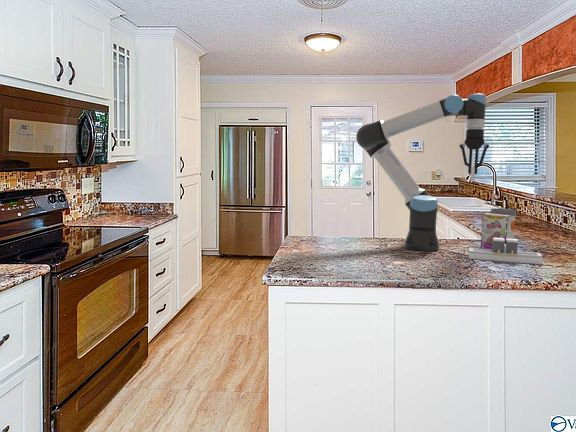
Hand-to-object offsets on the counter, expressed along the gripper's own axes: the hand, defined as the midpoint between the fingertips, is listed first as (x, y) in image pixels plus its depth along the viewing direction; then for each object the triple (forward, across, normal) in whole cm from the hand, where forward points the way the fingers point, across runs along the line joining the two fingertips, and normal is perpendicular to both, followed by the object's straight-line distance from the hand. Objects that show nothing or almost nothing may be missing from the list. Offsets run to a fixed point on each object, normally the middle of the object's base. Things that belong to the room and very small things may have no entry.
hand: (472, 181), depth 230 cm
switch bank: (+30, +14, -26) cm, 42 cm away
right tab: (+28, +16, -26) cm, 42 cm away
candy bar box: (+31, +11, -7) cm, 33 cm away
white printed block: (+31, +17, +37) cm, 51 cm away
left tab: (+28, +11, -26) cm, 40 cm away
